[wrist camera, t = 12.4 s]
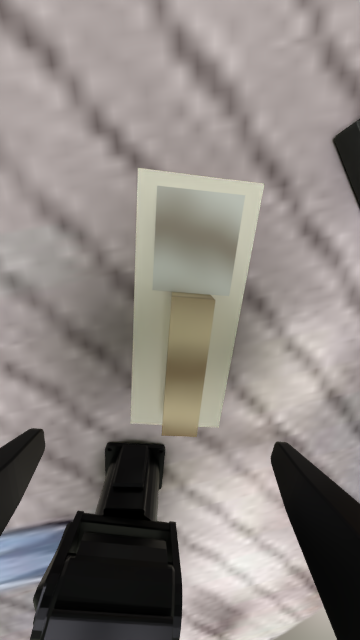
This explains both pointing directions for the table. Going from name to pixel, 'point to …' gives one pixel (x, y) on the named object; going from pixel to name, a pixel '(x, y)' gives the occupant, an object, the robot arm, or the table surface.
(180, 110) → the table surface
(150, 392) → the board
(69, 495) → the table surface
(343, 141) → the ammunition clip
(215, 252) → the turner
